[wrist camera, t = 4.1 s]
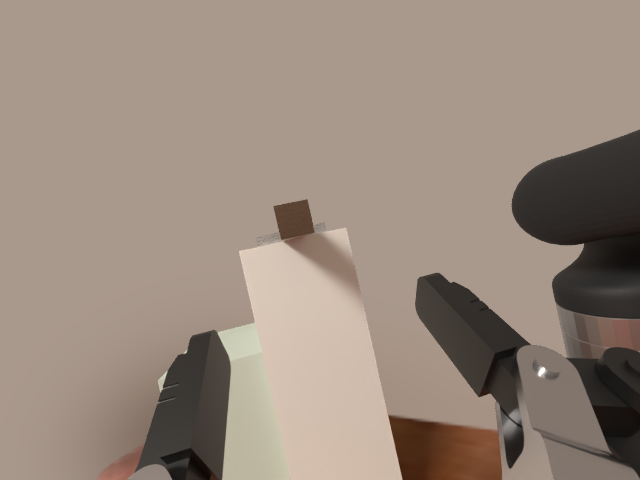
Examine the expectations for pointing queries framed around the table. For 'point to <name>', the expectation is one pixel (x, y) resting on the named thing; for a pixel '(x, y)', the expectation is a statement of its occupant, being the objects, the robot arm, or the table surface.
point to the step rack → (305, 370)
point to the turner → (292, 223)
